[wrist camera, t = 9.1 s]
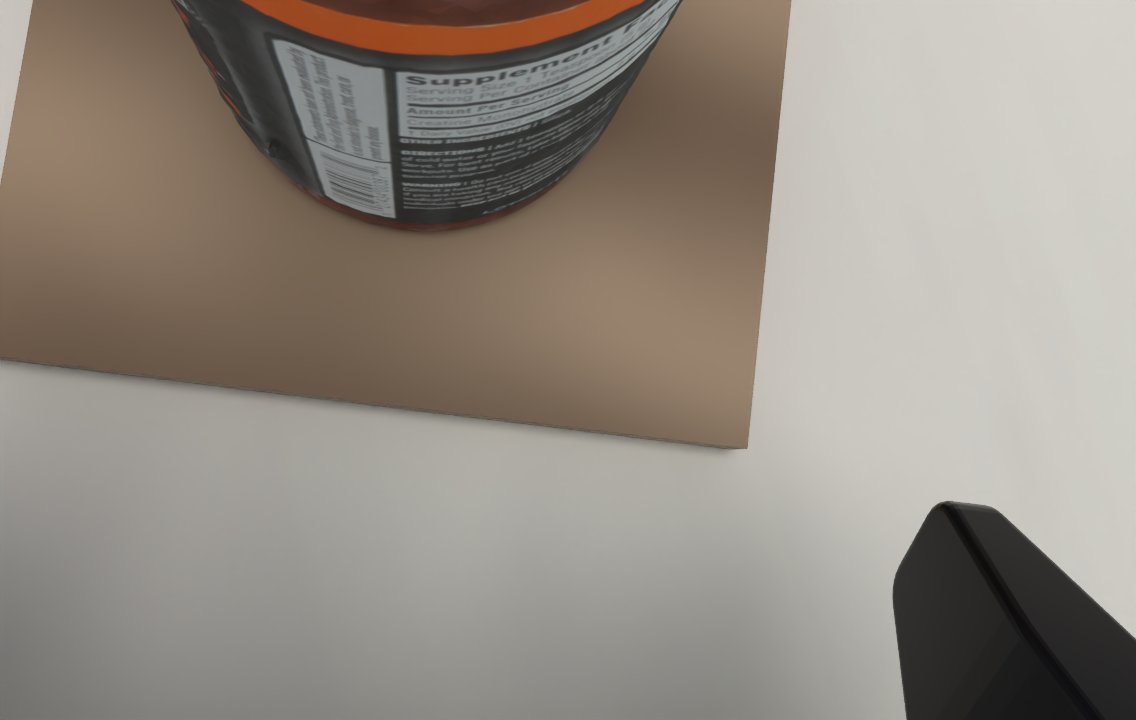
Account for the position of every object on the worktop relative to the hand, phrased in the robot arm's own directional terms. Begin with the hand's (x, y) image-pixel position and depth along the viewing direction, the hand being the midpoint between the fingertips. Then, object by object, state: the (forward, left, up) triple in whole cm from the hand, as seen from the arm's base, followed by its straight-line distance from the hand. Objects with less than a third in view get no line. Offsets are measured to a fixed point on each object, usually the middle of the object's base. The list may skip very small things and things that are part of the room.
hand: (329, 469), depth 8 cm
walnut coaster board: (+6, +2, -9) cm, 11 cm away
